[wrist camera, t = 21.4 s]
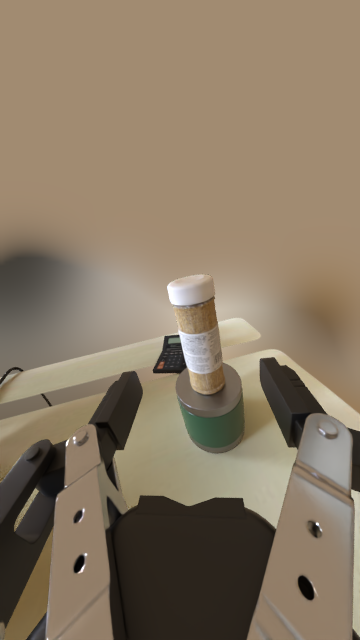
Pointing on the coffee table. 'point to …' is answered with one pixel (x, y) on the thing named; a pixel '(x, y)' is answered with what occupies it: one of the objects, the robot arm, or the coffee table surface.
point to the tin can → (213, 412)
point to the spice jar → (198, 331)
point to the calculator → (171, 356)
